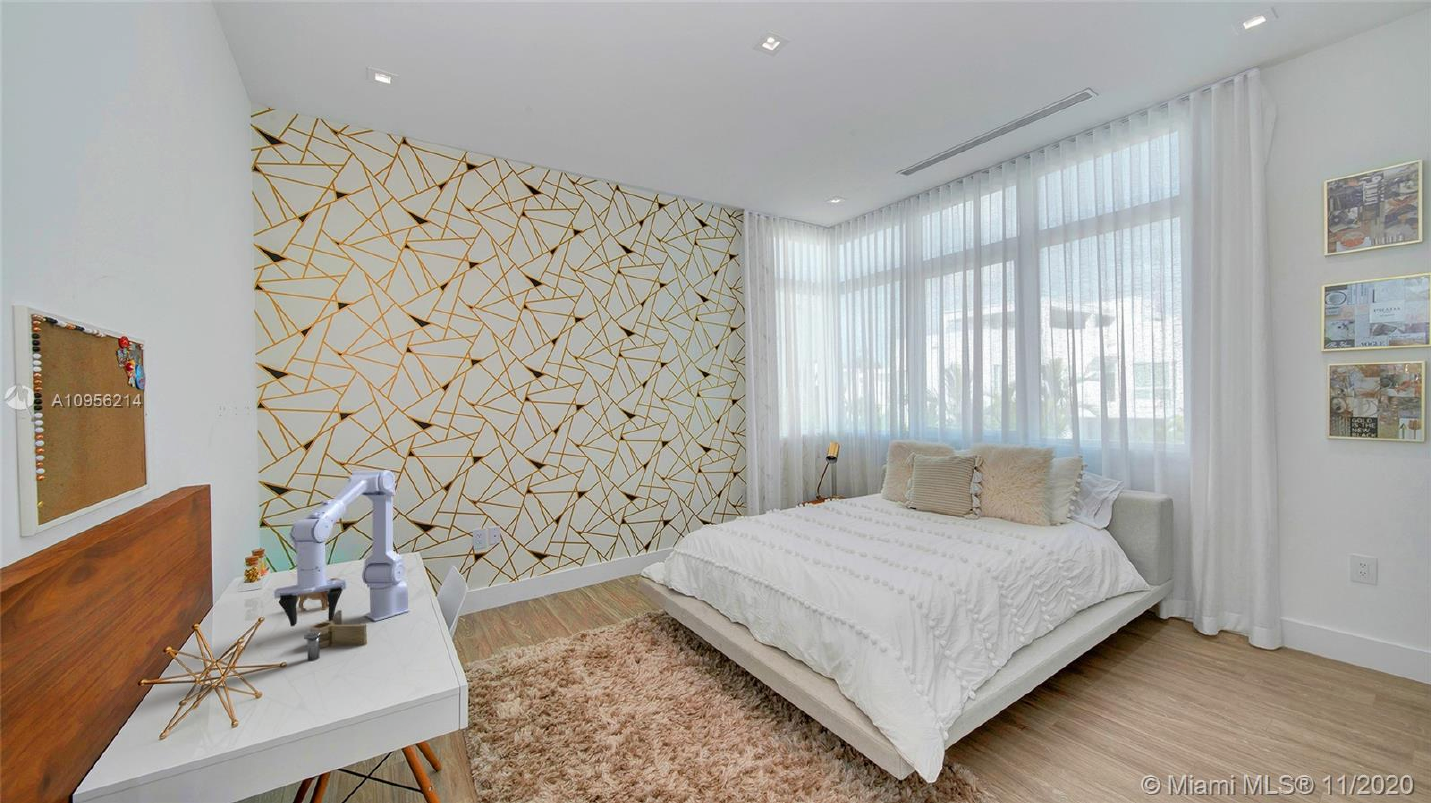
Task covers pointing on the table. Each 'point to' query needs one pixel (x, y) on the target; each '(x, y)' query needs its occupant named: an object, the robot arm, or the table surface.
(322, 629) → the tan hinge leaf
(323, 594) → the lion figurine
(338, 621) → the leaf
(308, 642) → the hinge pin
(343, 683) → the table surface
